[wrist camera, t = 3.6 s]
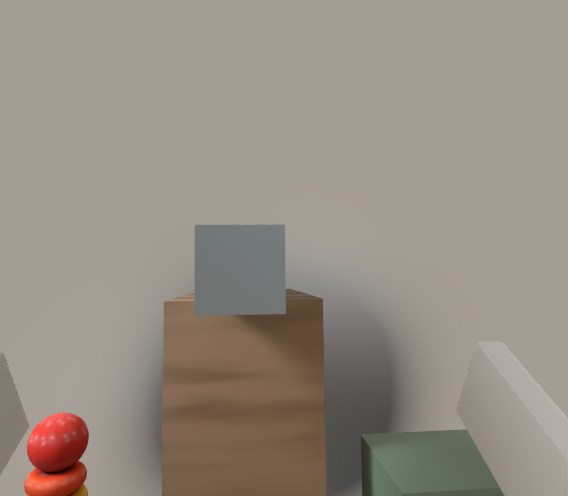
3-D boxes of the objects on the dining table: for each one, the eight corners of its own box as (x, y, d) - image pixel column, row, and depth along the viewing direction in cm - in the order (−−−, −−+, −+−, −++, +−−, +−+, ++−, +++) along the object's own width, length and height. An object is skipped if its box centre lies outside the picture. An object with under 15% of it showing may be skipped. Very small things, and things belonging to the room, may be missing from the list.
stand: (332, 810, 24) (322, 298, 26) (159, 831, 23) (163, 301, 25) (295, 567, 44) (291, 289, 46) (202, 574, 43) (202, 290, 45)
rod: (285, 313, 16) (284, 224, 16) (194, 315, 15) (194, 224, 16) (263, 289, 45) (262, 258, 46) (231, 290, 45) (231, 259, 45)
